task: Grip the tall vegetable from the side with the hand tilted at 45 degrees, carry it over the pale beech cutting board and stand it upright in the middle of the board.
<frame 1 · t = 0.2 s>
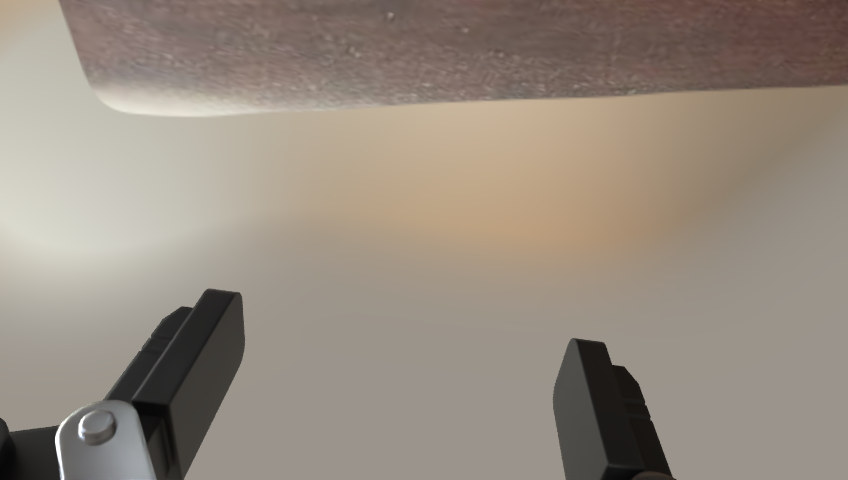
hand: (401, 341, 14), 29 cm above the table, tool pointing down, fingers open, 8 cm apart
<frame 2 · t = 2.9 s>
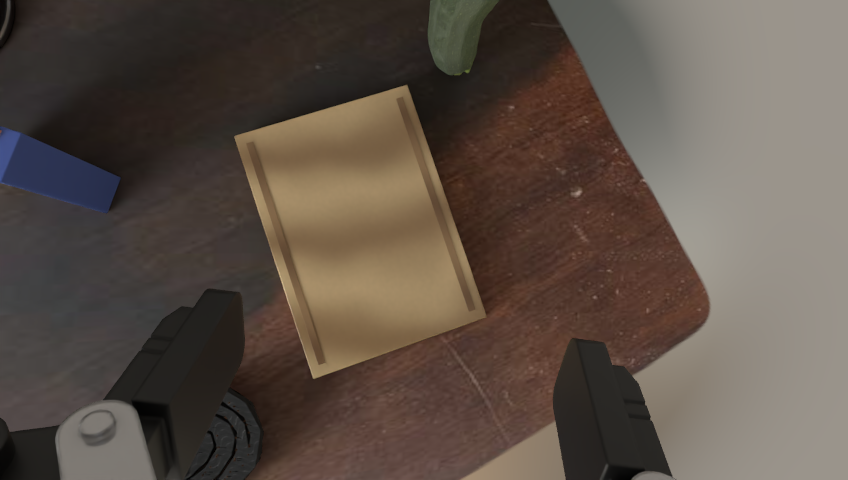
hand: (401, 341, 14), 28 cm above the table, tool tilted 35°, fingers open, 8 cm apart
walkman: (62, 180, 40), on the table
vegetable: (445, 60, 43), on the table
cutting board: (361, 229, 41), on the table
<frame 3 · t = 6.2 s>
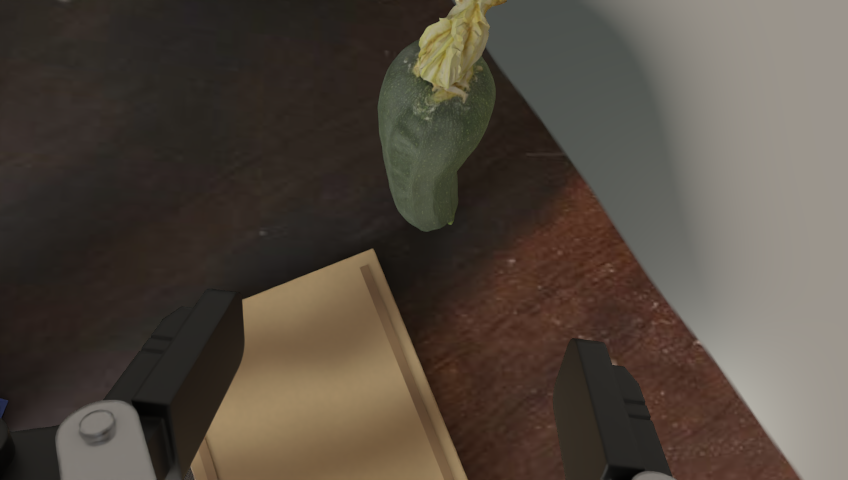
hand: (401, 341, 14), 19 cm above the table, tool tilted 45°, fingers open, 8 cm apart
vegetable: (422, 209, 34), on the table
cutting board: (324, 444, 31), on the table
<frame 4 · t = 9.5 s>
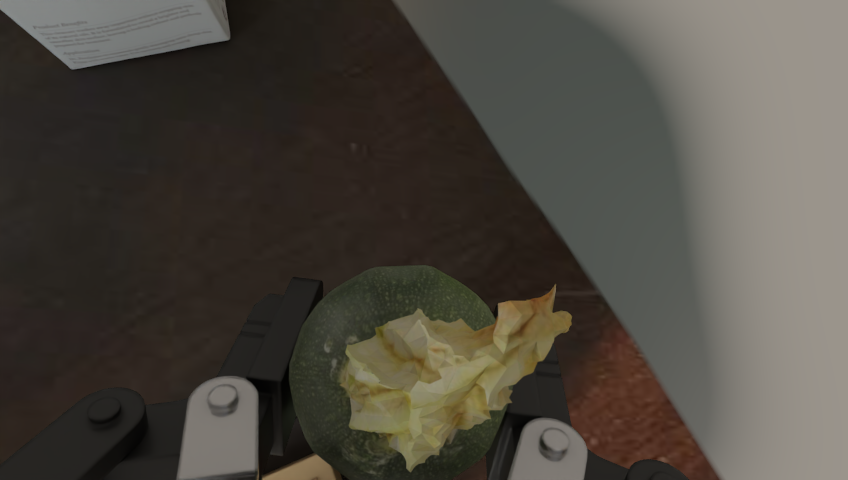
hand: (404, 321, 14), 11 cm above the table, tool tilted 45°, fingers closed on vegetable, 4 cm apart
cosmetic box: (144, 14, 28), on the table
vegetable: (399, 376, 24), on the table, touching gripper
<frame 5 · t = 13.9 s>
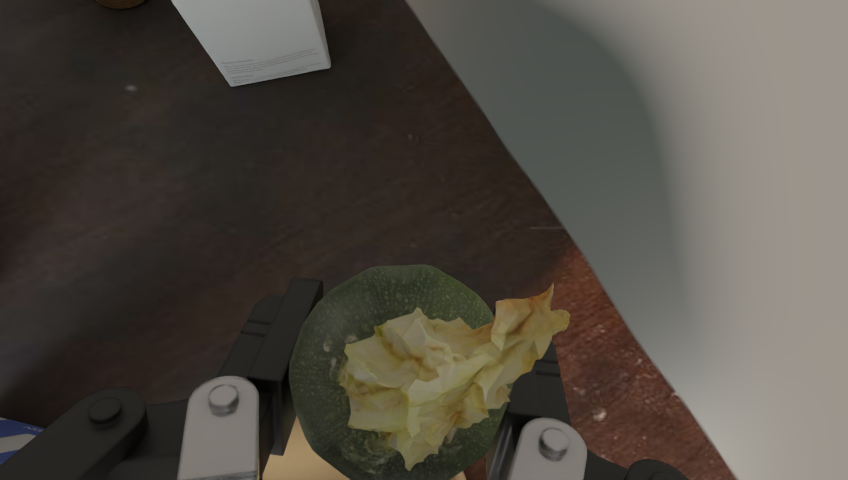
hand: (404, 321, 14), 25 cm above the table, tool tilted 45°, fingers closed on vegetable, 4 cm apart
cosmetic box: (274, 50, 44), on the table
walkman: (32, 448, 36), on the table
vegetable: (400, 376, 24), point 14 cm above the table, touching gripper
when the fingers open (12 cm above the table, at t = 18.7 s): vegetable stays where it is, resting on cutting board.
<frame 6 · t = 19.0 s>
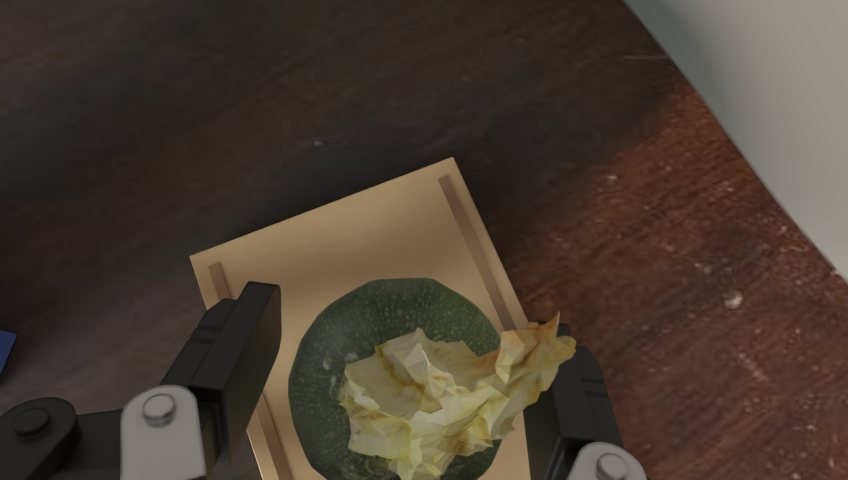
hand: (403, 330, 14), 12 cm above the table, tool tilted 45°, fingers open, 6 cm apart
vegetable: (400, 381, 24), point 1 cm above the table, touching cutting board
cutting board: (397, 388, 25), on the table
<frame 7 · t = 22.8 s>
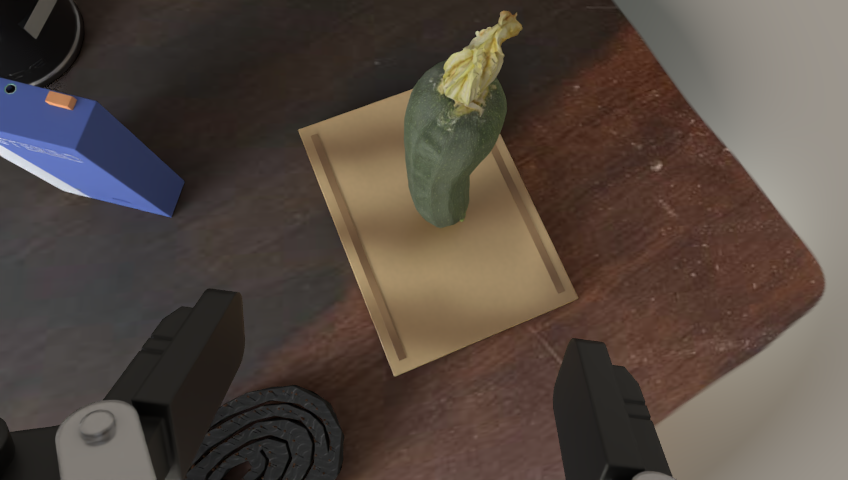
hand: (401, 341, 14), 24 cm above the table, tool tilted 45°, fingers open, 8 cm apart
walkman: (126, 188, 39), on the table
vegetable: (436, 208, 38), point 1 cm above the table, touching cutting board
cutting board: (433, 217, 39), on the table
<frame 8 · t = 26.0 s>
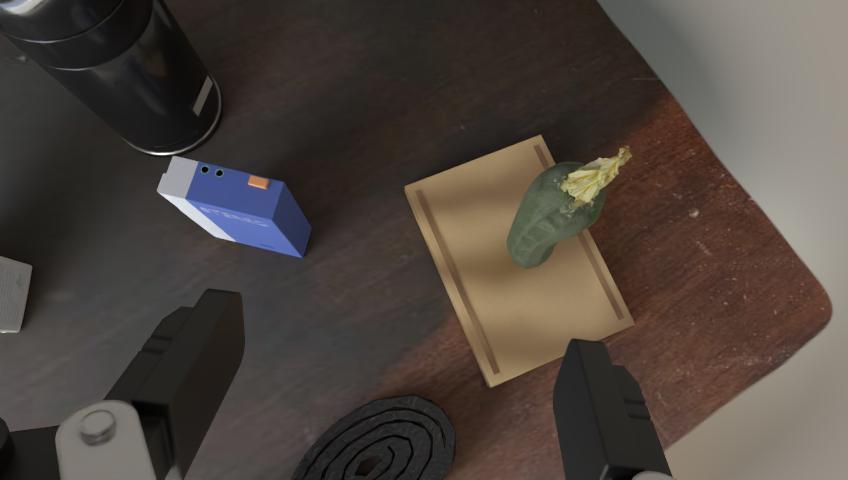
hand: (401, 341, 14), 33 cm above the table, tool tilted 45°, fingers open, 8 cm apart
walkman: (264, 233, 48), on the table
vegetable: (518, 250, 47), point 1 cm above the table, touching cutting board
cutting board: (513, 257, 48), on the table
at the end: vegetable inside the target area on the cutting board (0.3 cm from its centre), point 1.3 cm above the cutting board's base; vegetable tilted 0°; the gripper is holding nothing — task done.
